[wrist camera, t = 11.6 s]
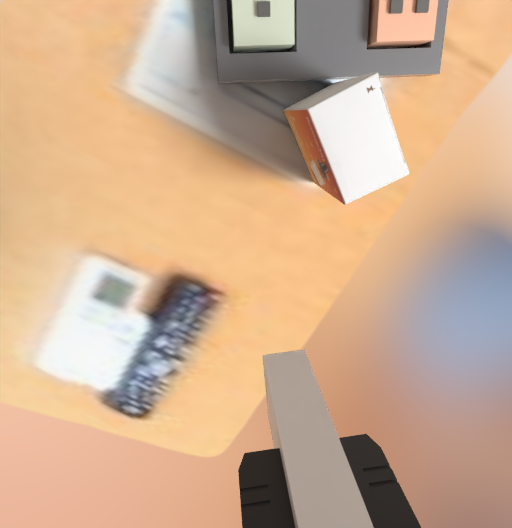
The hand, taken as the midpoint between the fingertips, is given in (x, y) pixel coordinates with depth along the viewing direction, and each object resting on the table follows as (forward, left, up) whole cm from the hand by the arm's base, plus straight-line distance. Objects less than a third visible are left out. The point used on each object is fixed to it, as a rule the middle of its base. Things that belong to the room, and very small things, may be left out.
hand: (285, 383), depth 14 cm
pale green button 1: (+2, +17, -29) cm, 33 cm away
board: (+8, +17, -28) cm, 34 cm away
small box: (+8, +7, -28) cm, 30 cm away
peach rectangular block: (+14, +17, -29) cm, 36 cm away
